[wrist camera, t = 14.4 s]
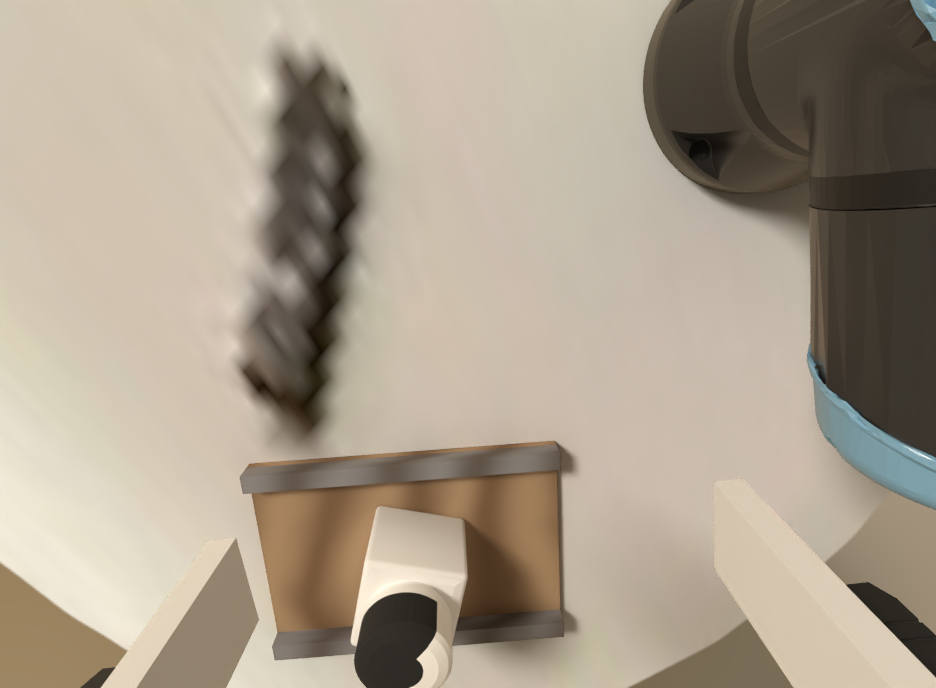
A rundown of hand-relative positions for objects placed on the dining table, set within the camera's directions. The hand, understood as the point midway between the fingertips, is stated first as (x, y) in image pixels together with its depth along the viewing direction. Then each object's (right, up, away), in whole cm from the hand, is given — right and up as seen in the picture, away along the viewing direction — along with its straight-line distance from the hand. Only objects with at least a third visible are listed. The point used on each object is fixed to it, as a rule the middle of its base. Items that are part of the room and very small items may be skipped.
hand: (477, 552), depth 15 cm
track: (-5, -11, +30) cm, 32 cm away
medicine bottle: (-5, -11, +30) cm, 32 cm away
